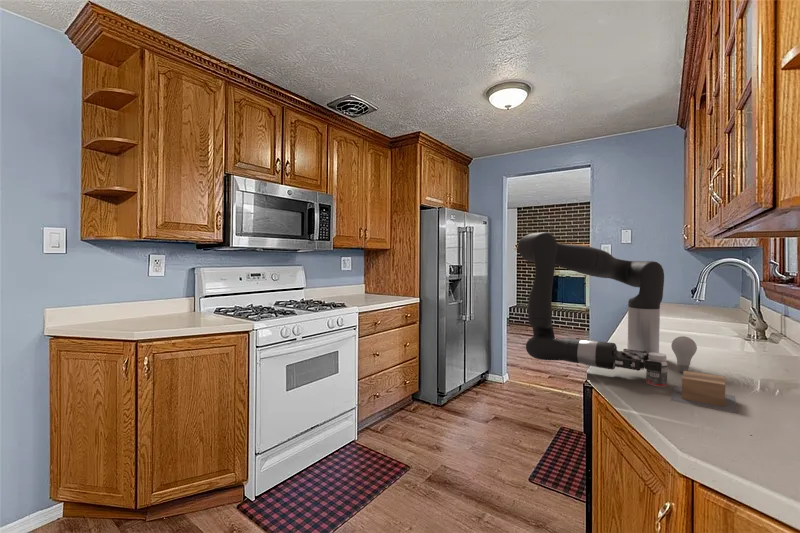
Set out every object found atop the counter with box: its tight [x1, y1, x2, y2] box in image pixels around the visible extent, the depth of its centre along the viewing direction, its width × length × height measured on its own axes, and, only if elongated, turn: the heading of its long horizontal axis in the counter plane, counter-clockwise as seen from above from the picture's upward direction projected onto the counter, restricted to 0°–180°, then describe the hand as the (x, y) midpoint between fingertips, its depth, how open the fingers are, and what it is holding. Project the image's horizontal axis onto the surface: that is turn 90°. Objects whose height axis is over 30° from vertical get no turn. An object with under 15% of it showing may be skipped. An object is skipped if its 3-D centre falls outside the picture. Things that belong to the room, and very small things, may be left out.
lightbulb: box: [671, 335, 698, 374], centre depth 116 cm, size 6×6×11 cm
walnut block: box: [681, 370, 726, 407], centre depth 94 cm, size 8×8×5 cm
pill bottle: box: [645, 352, 669, 387], centre depth 105 cm, size 5×5×8 cm
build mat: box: [670, 385, 738, 414], centre depth 94 cm, size 14×12×1 cm
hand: (663, 363), depth 104 cm, fingers open, 8 cm apart
